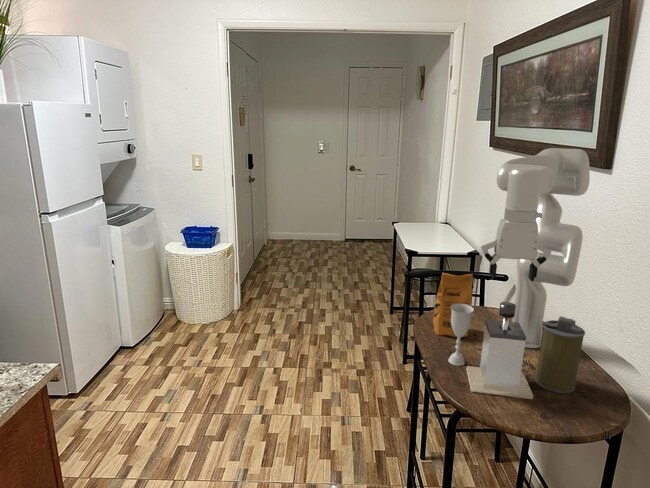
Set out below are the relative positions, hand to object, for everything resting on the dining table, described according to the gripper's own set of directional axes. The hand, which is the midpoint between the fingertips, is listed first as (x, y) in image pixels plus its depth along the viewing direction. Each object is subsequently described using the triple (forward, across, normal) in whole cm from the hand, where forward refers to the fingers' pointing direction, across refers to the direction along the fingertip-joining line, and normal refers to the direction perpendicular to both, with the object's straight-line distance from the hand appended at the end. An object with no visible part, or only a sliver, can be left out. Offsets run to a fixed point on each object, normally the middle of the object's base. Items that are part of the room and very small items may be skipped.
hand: (511, 278), depth 119 cm
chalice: (+32, +11, -9) cm, 35 cm away
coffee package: (+32, +11, -31) cm, 46 cm away
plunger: (+29, 0, +1) cm, 29 cm away
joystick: (+32, 0, +1) cm, 32 cm away
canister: (+32, -16, -3) cm, 36 cm away
